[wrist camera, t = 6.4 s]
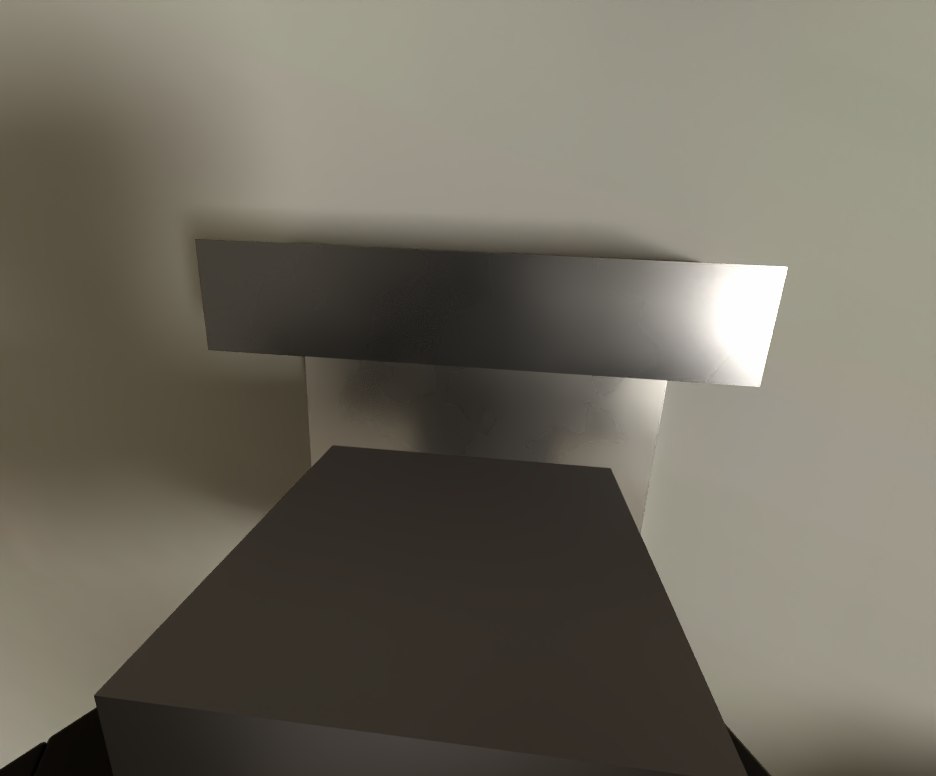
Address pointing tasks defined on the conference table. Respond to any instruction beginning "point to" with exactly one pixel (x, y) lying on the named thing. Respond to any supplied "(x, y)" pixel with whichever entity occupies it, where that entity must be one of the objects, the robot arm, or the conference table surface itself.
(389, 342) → the press frame
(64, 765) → the robot arm
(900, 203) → the conference table surface
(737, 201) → the conference table surface
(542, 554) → the block
